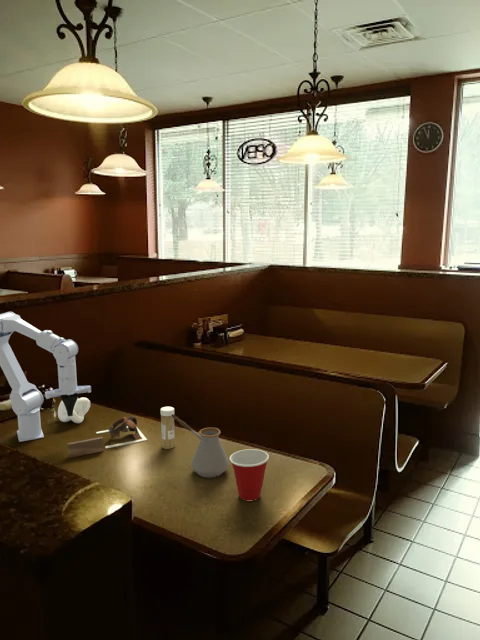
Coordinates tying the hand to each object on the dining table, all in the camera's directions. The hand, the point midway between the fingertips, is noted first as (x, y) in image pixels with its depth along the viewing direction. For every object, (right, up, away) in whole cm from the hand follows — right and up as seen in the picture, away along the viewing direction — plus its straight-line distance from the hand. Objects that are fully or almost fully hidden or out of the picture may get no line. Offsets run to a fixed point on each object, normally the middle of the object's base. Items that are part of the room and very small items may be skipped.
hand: (69, 415), depth 176 cm
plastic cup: (+60, -16, -33) cm, 70 cm away
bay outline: (+16, -9, +5) cm, 19 cm away
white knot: (-4, -6, +21) cm, 22 cm away
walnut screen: (+8, -11, -7) cm, 15 cm away
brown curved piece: (+18, -9, +5) cm, 21 cm away
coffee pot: (+45, -13, -16) cm, 49 cm away
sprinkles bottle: (+34, -10, -2) cm, 35 cm away
